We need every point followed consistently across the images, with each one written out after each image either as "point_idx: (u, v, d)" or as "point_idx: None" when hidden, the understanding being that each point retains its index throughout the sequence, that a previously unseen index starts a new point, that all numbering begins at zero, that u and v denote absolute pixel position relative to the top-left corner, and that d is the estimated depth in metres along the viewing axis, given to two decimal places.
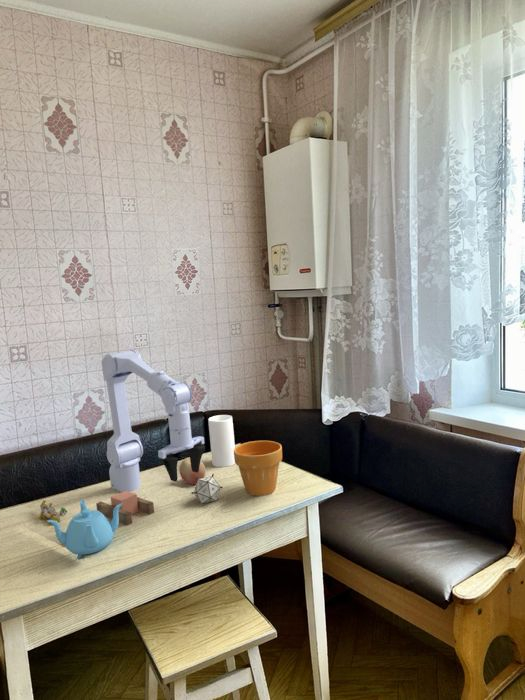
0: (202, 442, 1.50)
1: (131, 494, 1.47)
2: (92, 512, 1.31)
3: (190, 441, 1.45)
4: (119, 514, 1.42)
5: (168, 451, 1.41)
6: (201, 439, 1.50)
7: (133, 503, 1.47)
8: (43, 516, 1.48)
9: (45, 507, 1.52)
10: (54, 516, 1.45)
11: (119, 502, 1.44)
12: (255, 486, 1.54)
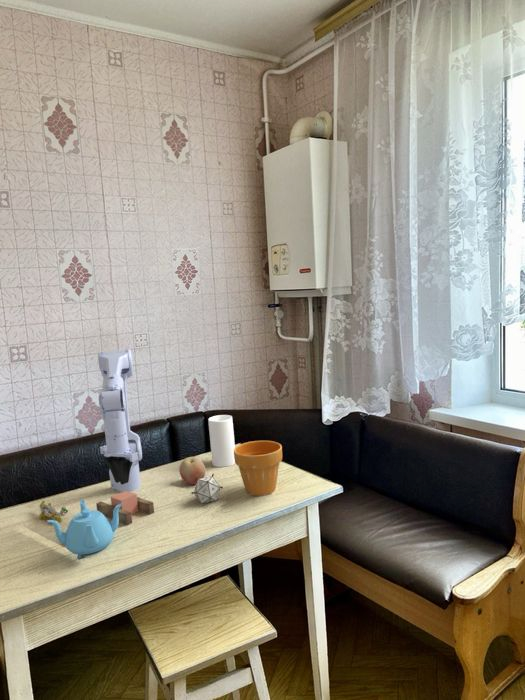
0: (130, 459, 1.41)
1: (131, 494, 1.47)
2: (92, 512, 1.31)
3: (111, 450, 1.43)
4: (119, 514, 1.42)
5: (102, 449, 1.48)
6: (128, 456, 1.41)
7: (133, 503, 1.47)
8: (44, 516, 1.48)
9: (45, 507, 1.52)
10: (55, 516, 1.45)
11: (119, 502, 1.44)
12: (255, 486, 1.54)
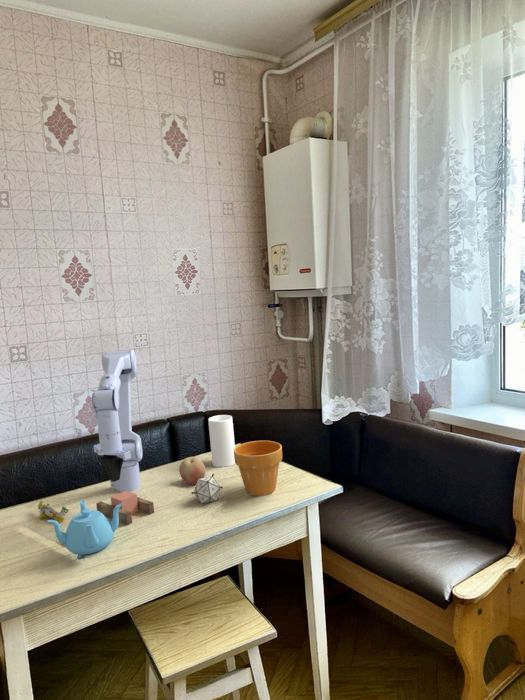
0: (123, 458, 1.43)
1: (131, 494, 1.47)
2: (92, 512, 1.31)
3: (105, 449, 1.45)
4: (119, 514, 1.42)
5: (96, 448, 1.50)
6: (121, 454, 1.43)
7: (133, 503, 1.47)
8: (44, 516, 1.48)
9: (44, 507, 1.52)
10: (57, 515, 1.46)
11: (119, 502, 1.44)
12: (255, 486, 1.54)
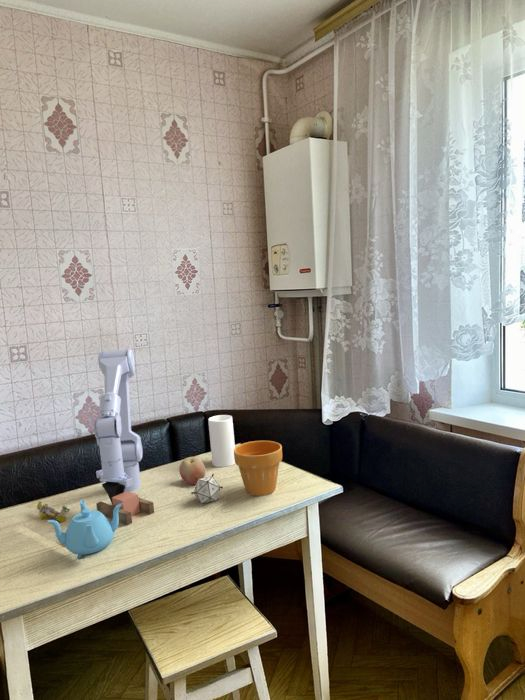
0: (125, 485, 1.44)
1: (132, 494, 1.47)
2: (92, 512, 1.31)
3: (107, 476, 1.46)
4: (119, 514, 1.42)
5: (98, 474, 1.51)
6: (123, 481, 1.44)
7: (135, 504, 1.46)
8: (45, 516, 1.48)
9: (44, 507, 1.52)
10: (59, 514, 1.46)
11: (120, 502, 1.44)
12: (255, 486, 1.54)
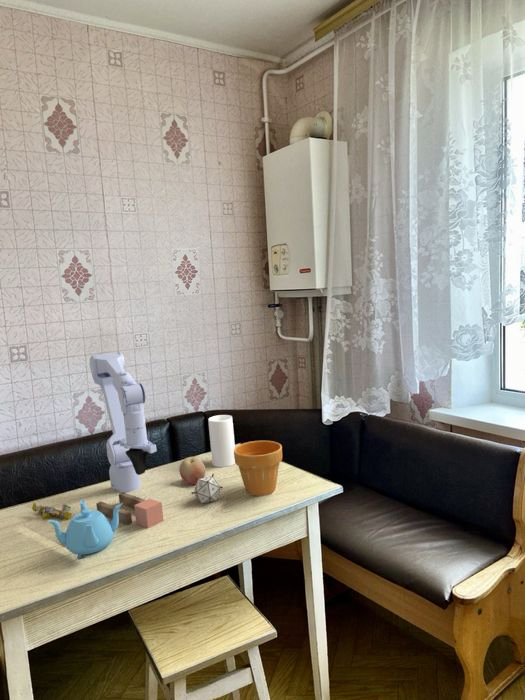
0: (149, 451, 1.47)
1: (156, 502, 1.40)
2: (92, 512, 1.31)
3: (131, 442, 1.49)
4: (119, 514, 1.42)
5: (121, 442, 1.54)
6: (147, 447, 1.47)
7: (158, 512, 1.40)
8: (48, 515, 1.48)
9: (43, 508, 1.51)
10: (65, 511, 1.47)
11: (144, 511, 1.37)
12: (255, 486, 1.54)
